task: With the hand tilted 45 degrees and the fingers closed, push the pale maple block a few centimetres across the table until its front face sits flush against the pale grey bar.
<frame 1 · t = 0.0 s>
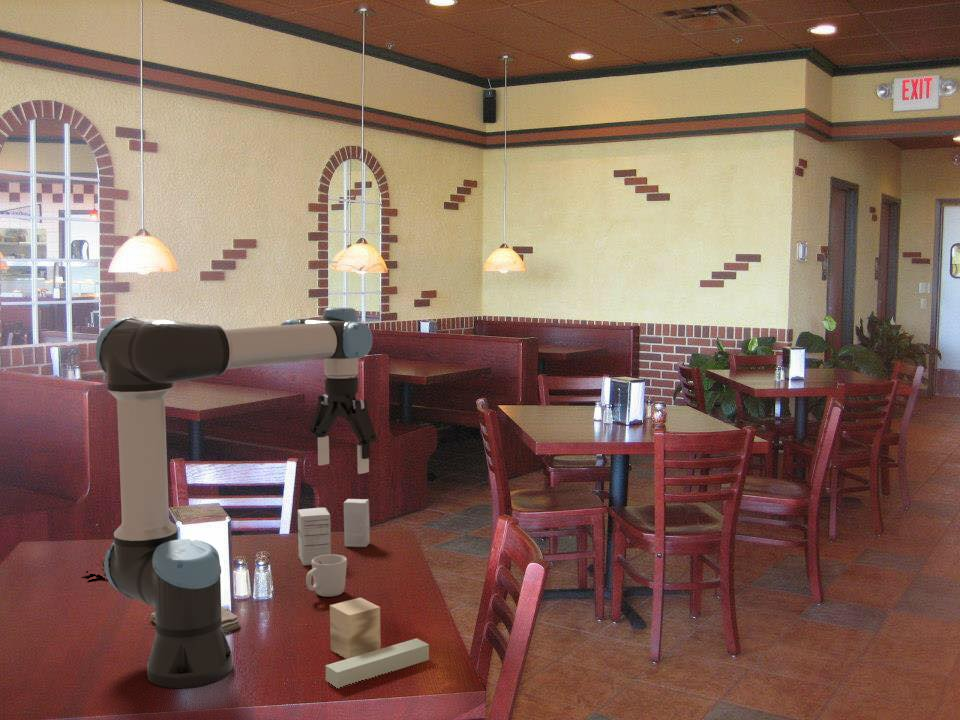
hand: (343, 468, 224), 28 cm above the table, tool pointing down, fingers open, 13 cm apart
skincare box: (357, 545, 261), on the table
washcloth: (195, 627, 205), on the table
lily flower: (106, 576, 238), on the table
supplement box: (314, 561, 248), on the table
block: (355, 651, 191), on the table
cup: (325, 596, 223), on the table
pale grey bar: (378, 670, 182), on the table
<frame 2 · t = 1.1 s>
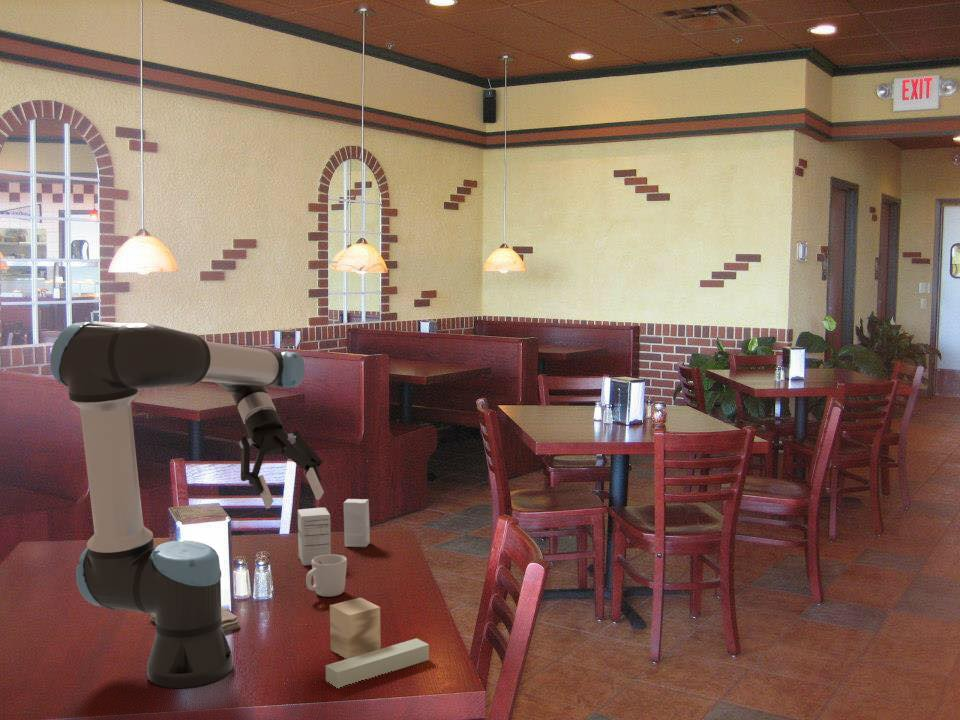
hand: (295, 500, 207), 25 cm above the table, tool tilted 45°, fingers open, 11 cm apart
nothing on the table moved.
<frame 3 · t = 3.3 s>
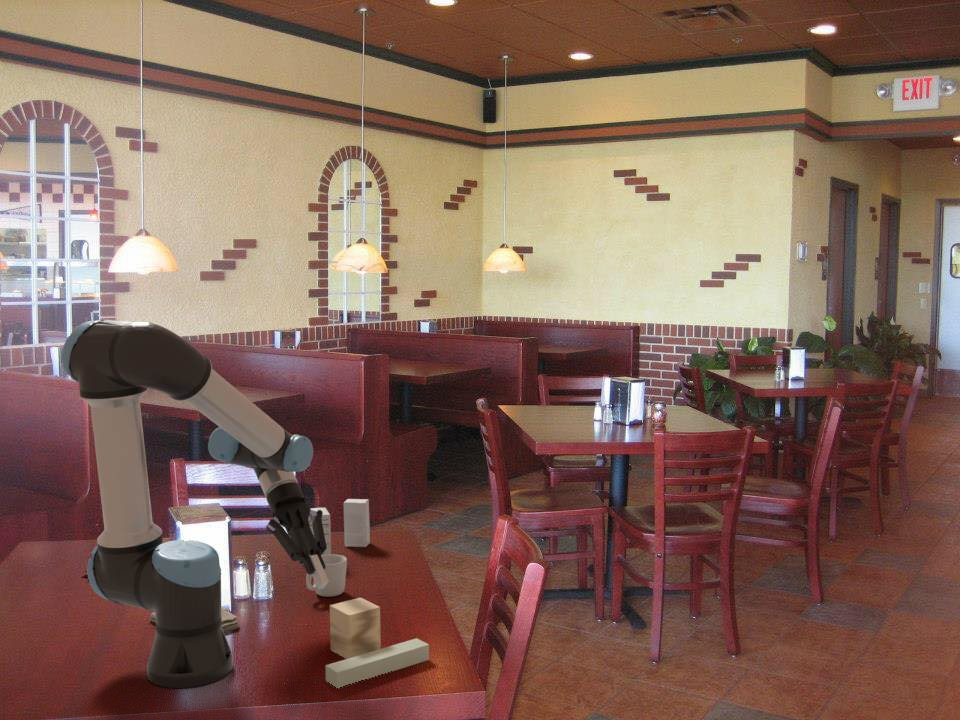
hand: (323, 585, 203), 9 cm above the table, tool tilted 45°, fingers closed
nothing on the table moved.
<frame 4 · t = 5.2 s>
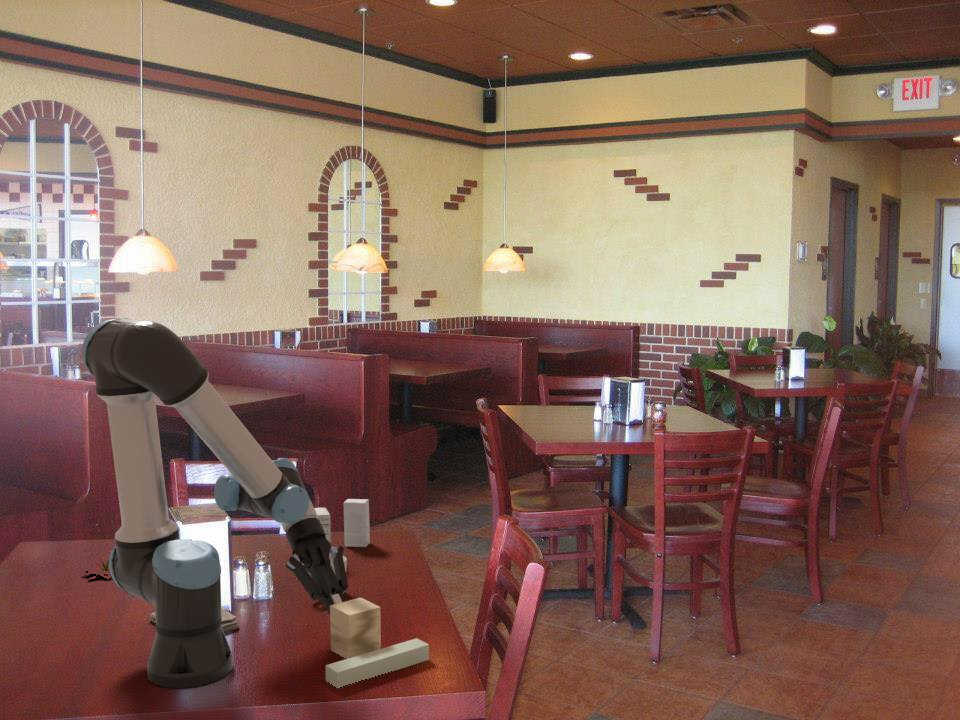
hand: (345, 626, 195), 3 cm above the table, tool tilted 45°, fingers closed
block: (355, 651, 191), on the table, touching gripper
everything else where it was.
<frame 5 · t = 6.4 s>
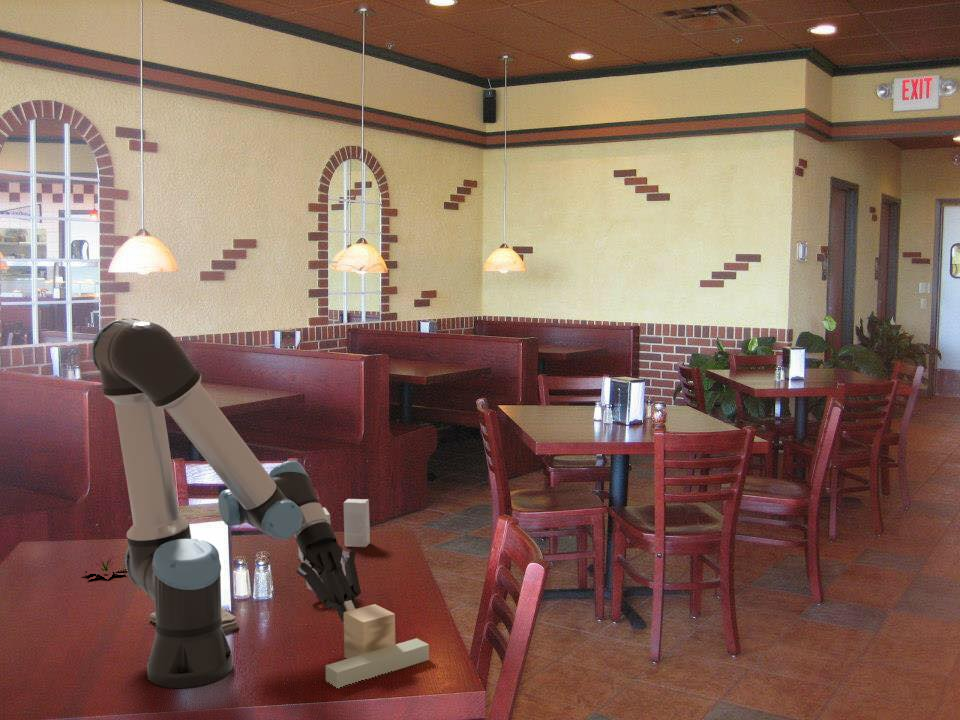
hand: (358, 633, 191), 3 cm above the table, tool tilted 45°, fingers closed
block: (369, 658, 187), on the table, touching pale grey bar, gripper
everything else where it was.
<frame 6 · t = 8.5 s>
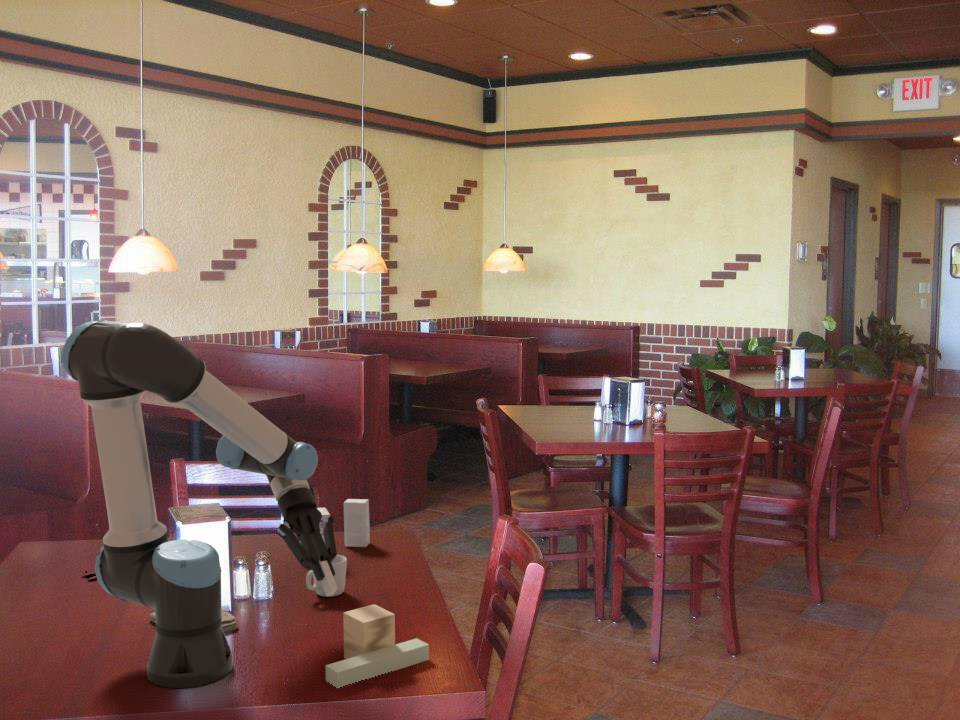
hand: (332, 592, 199), 9 cm above the table, tool tilted 45°, fingers closed
block: (369, 659, 187), on the table
everything else where it was.
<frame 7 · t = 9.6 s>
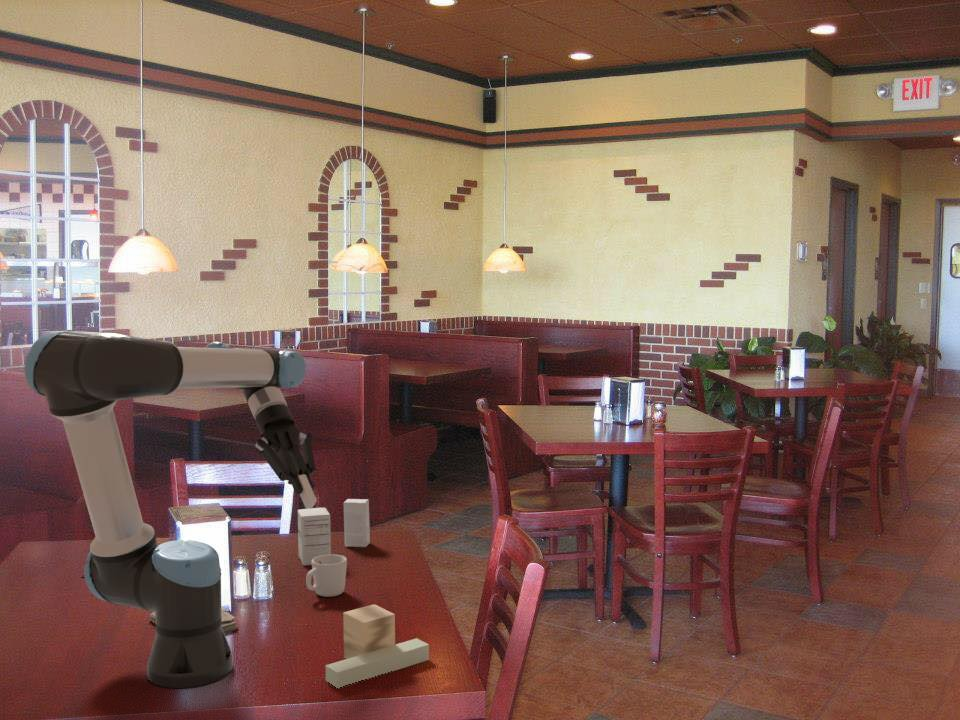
hand: (311, 504, 200), 26 cm above the table, tool tilted 45°, fingers closed
nothing on the table moved.
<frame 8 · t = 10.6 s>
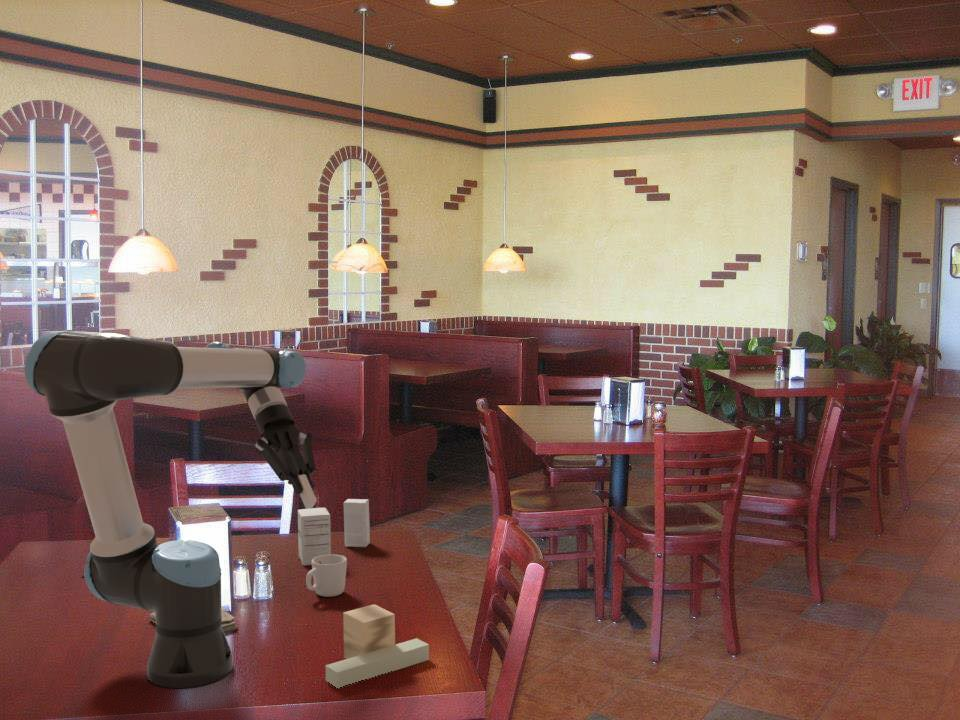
hand: (311, 504, 200), 26 cm above the table, tool tilted 45°, fingers closed
nothing on the table moved.
at the end: block inside the target area on the table beside the pale grey bar (0.9 cm from its centre), on the table; block tilted 0°; block moved 5.0 cm from its start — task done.
